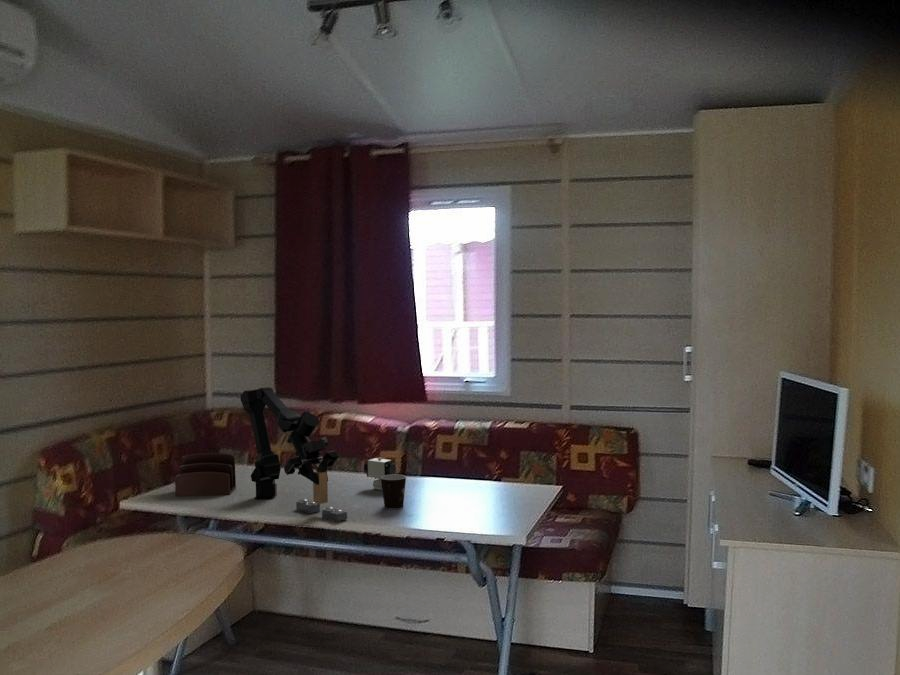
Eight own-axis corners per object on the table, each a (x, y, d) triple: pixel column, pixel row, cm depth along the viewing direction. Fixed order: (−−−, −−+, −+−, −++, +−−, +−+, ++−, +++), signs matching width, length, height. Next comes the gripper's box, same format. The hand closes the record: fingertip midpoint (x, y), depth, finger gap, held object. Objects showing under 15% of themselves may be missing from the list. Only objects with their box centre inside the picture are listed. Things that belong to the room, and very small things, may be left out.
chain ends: (296, 509, 266) (296, 500, 265) (306, 507, 268) (306, 497, 268) (336, 522, 249) (336, 512, 249) (347, 519, 252) (346, 510, 252)
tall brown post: (313, 502, 259) (312, 472, 258) (321, 500, 261) (321, 470, 260) (319, 504, 256) (319, 473, 256) (327, 502, 258) (327, 472, 258)
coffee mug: (392, 501, 274) (391, 473, 273) (411, 505, 269) (411, 476, 268) (370, 509, 264) (369, 479, 264) (389, 513, 259) (389, 482, 259)
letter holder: (183, 490, 296) (181, 453, 296) (236, 488, 297) (235, 451, 297) (175, 496, 287) (173, 458, 286) (230, 495, 287) (229, 457, 287)
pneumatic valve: (389, 492, 287) (388, 459, 287) (363, 488, 294) (363, 456, 293) (398, 489, 292) (397, 457, 292) (372, 485, 298) (372, 454, 298)
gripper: (287, 434, 254) (308, 473, 246) (335, 426, 267) (355, 463, 259) (275, 454, 260) (294, 493, 252) (322, 447, 273) (342, 483, 265)
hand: (322, 483), depth 257 cm, fingers closed on tall brown post, 3 cm apart
